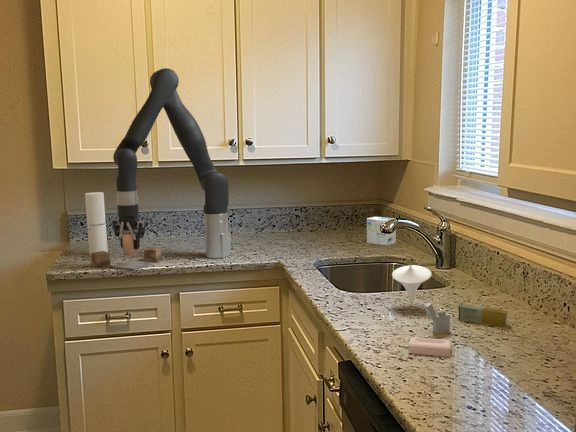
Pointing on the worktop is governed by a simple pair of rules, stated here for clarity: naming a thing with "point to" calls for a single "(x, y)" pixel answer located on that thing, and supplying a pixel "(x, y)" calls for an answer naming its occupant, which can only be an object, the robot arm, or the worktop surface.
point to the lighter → (438, 319)
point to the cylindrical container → (96, 222)
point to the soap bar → (430, 346)
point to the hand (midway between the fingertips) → (130, 248)
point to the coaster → (131, 265)
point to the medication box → (483, 315)
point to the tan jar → (128, 243)
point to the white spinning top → (411, 278)
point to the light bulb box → (379, 232)
